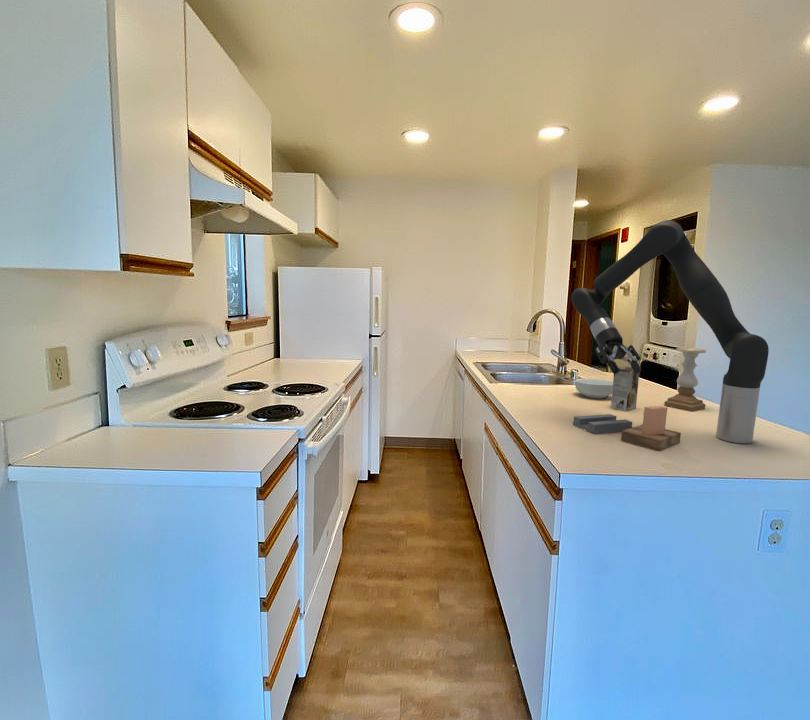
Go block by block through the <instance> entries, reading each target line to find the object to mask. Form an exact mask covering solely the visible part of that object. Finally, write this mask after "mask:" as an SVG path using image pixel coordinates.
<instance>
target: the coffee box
mask: <svg viewBox="0 0 810 720" xmlns="http://www.w3.org/2000/svg"><path fill="white" fill-rule="evenodd" d="M618 368H619V370H620V372H619V373H618V374H614V373H613V379H612V381H613V389H612V394H611V403H610V408H611V409H615V410H617V411H624V412H629V411H631V410H634V409H636V408H637V400H638V391H639V390H638V388H639V379H640V373H639V374H635V372H634V371H633V369H632V367H631V366H619V367H618Z"/></svg>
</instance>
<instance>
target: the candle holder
mask: <svg viewBox="0 0 810 720" xmlns="http://www.w3.org/2000/svg"><path fill="white" fill-rule="evenodd" d="M675 349H676V351H677V352H680V353H682V356H683V358H684V361H682V363H681V366H682V368H683V371H682V372H681V374H680V375H679V376H678V377H677V379H676V383H677V385H679V387H678V388H677V392H678V393H677V394H675V395H673V396H671V397H668V398H667V400H665V401H664V403H663V407H667V408H672V409H677V410H683V411H686V412H687V411H688V412H697V411H700V410H701V411H702V410H705V409H706V404H705V403H704V402H703V399H699V398H697V397H696V396H694V395H695V394H696V390H695V389H694V388H695V387H697V386H698V385H699V380H698V379H697V377H696V374H695V372H694V370H695V369H696V367H697V366H698V364H696V358H697V357H699V355H700V354H706V352H707V350H706V349H704V348H693V347H676V348H675Z"/></svg>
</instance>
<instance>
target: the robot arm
mask: <svg viewBox="0 0 810 720" xmlns="http://www.w3.org/2000/svg"><path fill="white" fill-rule="evenodd" d="M662 254H663V256H664V257H665V259H667V261H668V262H669V263H670V265H671V266H672V268H673V270H674V273H675V276H676V278H677V281H678V284H679V286H680V288H681V291H682V292H683V294H684V296H685V297H686V298H687V300H688V301H689V302H690V304H691V305H692V307H693V308H694V309H695V310H696V312H697V313H698V315H700V317H701V318H702V320H703V321H705V323H706V324H707V326H709V328H710V329H711V331H712V332H713V334H714V336H715V337H716V339H717V341H718V343H719V344H720V346H721V348H722V350H723V352H724V355H726V356H727V358H728V359H729V364H728V369H727V371H726V373H725V374H724V375H723V377H722V384H721V385H722V386H721V395H720V402H719V403H720V404H719V409H718V410H719V411H718V418H717V424H716V426H717V427H716V433H715V437H716V438H718V439H720V440H722V441H726V442H730V443H733V444H734V443H735V444H746V445H747V443H748V444H752V443H753V441H754V440H753V439H754V434H755V427H756V420H757V412H758V405H759V399H760V398H759V397H760V389H761V384H762V382H763V380H764V378H765V375H766V370H767V365H768V360H769V359H768V357H769V351H770V349H769V348H770V347H769V343H767V341H766V339H765V338H764V337H762V336H760V335H757V334H754V333H753V334H752V333H750V332H749V331H748V330H747V329H746V327H745V326H744V325H743V324H742V323H741V321H739V319H738V318H737V316H736V315H735V312H734V310H733V307H732V304H731V300H730V299H729V296H728V294H727V292H726V289H725V288H724V287H723V285H722V284H721V283H720V281H719V280H718V279H717V277H716V276H715V275H714V273H713V272H712V271H711V270H710V268H709V267H708V266H707V265H706V263H705V262H704V261H703V260H702V259H701V258H700V256H699V255H698V254H697V253H696V251H695V249H694V248H693V246H692V244H691V242H690V240H689V239H688V237H687V235H686V233H685V231H684V229H683V228H682V226H681V225H680V224H679V223H678V222H676V221H674V220H671V219H668V220H667V219H666V220H662V221H660V222H657V223H655V224H654V225H653V226H651V227H650V228H649V229H648V231H647V232H646V234H644V236H643V237H642V238H641V239H640V241H639V242H638V243H636V244H635V246H634V247H633V248H631V249H630V250H629V251H628V252H626V254H625V255H623V256H622V257H621V258H619V259H617V261H615V262H614V263H613V264H611V265H610V266H609V267H607V268H606V269H605V270H604V271H603V272H602V273H600V274H599V275H598V276H596V278H595V279H594V280H593V286H594V288H593V289H589V288H586V287H577V288H576V289H574V291H572V293H571V303H572V306H573V307H574V308H575V310H576V311H577V312H578V313H579V314H580V316H582V317H583V319H584V320H585V322H586V324H587V325H588V327H589V329H590V331H591V334H592V335H593V338H594V339H595V341H596V343H597V345H598V346H597V347H596V348H595V350H594V351H595V354H596V355H597V357H598V359H599V361H600V363H601V364H602V365H604V364H606V365H607V366H608V367H609V370H610V371H611V372H612V374H613V375H614V374H618V373H619V372H620V370H619V368H620V367H619V366H618V365H617V362H616V361H615V360H621V361H623V362H624V363H628V365H630V366H629V367H632V369H633V371H634V372H635V374H639V375H640V373H642V368H641V366H640V364H639V362H640V360H642V358H641V356H640V355H639V353H638V352H637V350H636V349H635V347H634V346H633V345H632V344H630V345H628V346H625V345H624V343H623V340H624V339H623V336H622V335H621V334H620V332H619V330H618V328H617V326H616V325H615V323H614V322H613V321H612V320H611V318H610V316H609V315H608V313H607V311H606V310H605V308H604V307H602V306H601V305H602V304H603V302H604V301H606V300H605V299H607V297H608V296H609V295H610V293H612V292H613V291H614V290H615V289H617V288H618V287H619V286H621V285H622V284H623V283H624V282H625V281H627V280H628V279H629V278H630V277H631V276H633V274H635V273H636V272H637V271H639V270H640V268H641V267H643V266H644V265H646V264H647V263H649V262H650V261H652V260H654V259H655V258H657V257H659V256H661V255H662ZM626 355H627V356H626Z"/></svg>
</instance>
